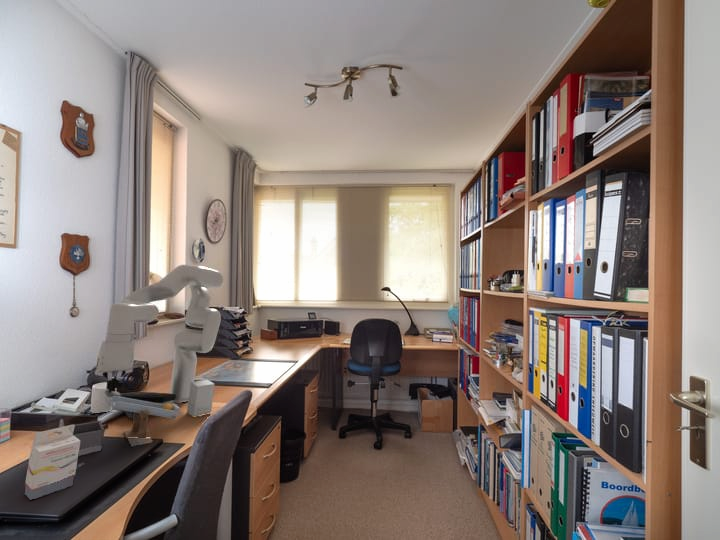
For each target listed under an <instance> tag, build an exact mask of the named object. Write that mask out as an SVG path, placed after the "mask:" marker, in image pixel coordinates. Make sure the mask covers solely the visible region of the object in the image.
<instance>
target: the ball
mask: <svg viewBox="0 0 720 540" xmlns="http://www.w3.org/2000/svg"><path fill="white" fill-rule="evenodd" d="M163 409H167V410H172V409H173V405H172V404H170V403H168V404H166V405H165V406H164V407H163Z"/></svg>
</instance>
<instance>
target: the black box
mask: <svg viewBox="0 0 720 540" xmlns="http://www.w3.org/2000/svg"><path fill="white" fill-rule="evenodd" d="M120 395H121V396H120V397H125V398H131V399H136V400H142V401H147V402H153V403H158V404H164V405H166V404H168V403H170V404H171V403H173V404H175V403H174V400H175V397H176V395H175V394H169V393H168V392H167V393H164V392H154V391H153V392H152V391H149V392H148V391H132V392H131V391H130V392H123V393H120ZM124 413H125V415H126V416H127V417H128V418H129V419H130V418H131V419H132V420H133V417H134V412H130V411H124Z"/></svg>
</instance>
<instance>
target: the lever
mask: <svg viewBox="0 0 720 540" xmlns="http://www.w3.org/2000/svg"><path fill="white" fill-rule="evenodd" d="M105 394H106V396H107V398H108V400H109V402H110V405H111V407H112V410H118V411H124V412H125V411H129V412H130V413H131V412H136V413H141V412H142V411H146V410H149V415H150V416H155V417H162V418H163V417H164V418H169V419H176V418H177V417H178V416H179V414H180V410H181V408H180V406H178V404H177V403H174V404H173V403H171V404H172V405H173V409H172V410H167V409H163V407H164V406H165V405H164V404H158V403H153V402H147V401H142V400H136V399H131V398H125V397H120V396H121V395H120V394H121V393H120V392H119V391H117V390H116V391H114V392H113V391H111V392H109V391H108V390H106V391H105Z"/></svg>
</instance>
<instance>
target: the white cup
mask: <svg viewBox="0 0 720 540" xmlns="http://www.w3.org/2000/svg"><path fill="white" fill-rule="evenodd" d="M106 386H107V381H106V382H105V381H104V382H99V383H95V384H93V385H92V387H91V398H90V413H91V412H92V413H91V414H93V413H100V412H107V413H109V412H108V411H110V412H111V411H112V410H113V409H112V407H111V405H110V402H109V400H108V398H107V396H106V394H105V391H106V390H108V389H106ZM115 391H116V392H117V388H116V389H115Z"/></svg>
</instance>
